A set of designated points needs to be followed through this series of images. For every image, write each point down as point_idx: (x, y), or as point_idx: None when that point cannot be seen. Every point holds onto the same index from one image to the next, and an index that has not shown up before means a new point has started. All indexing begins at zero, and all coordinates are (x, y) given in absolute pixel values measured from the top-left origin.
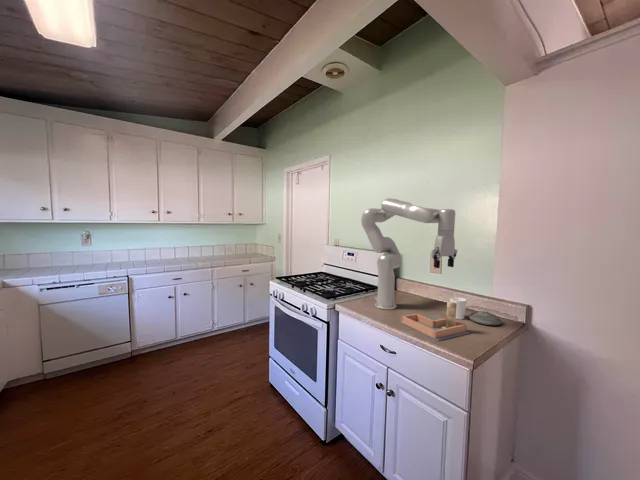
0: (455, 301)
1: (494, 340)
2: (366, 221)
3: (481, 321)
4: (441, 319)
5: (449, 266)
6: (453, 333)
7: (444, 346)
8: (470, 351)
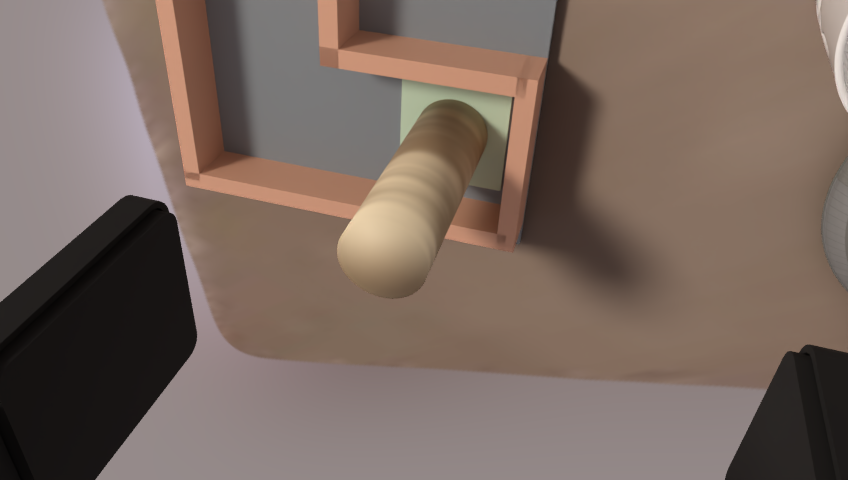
0: (832, 63)
1: (557, 364)
2: None
3: (833, 240)
4: (432, 69)
5: (760, 406)
6: None
7: (208, 232)
8: (293, 329)
